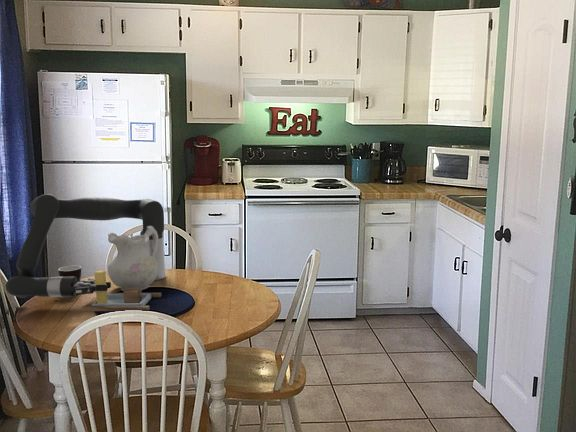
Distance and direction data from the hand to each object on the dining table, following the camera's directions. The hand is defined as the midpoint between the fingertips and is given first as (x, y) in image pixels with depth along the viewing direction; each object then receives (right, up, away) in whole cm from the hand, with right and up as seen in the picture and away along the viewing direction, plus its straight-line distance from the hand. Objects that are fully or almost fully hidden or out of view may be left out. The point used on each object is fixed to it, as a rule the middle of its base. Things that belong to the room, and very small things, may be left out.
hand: (108, 286), depth 244 cm
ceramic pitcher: (+6, -4, +22) cm, 23 cm away
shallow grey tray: (+5, -7, +1) cm, 9 cm away
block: (+9, -6, 0) cm, 11 cm away
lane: (+5, -7, +1) cm, 9 cm away
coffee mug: (-20, -5, +22) cm, 29 cm away
